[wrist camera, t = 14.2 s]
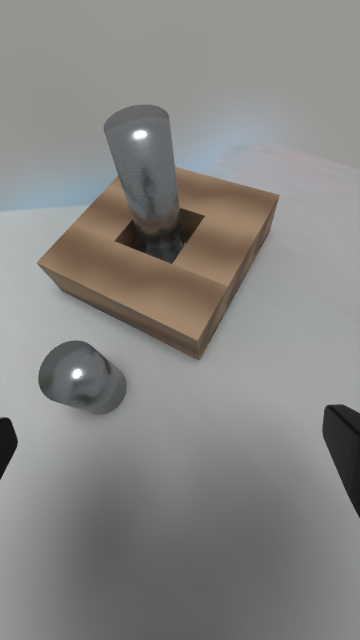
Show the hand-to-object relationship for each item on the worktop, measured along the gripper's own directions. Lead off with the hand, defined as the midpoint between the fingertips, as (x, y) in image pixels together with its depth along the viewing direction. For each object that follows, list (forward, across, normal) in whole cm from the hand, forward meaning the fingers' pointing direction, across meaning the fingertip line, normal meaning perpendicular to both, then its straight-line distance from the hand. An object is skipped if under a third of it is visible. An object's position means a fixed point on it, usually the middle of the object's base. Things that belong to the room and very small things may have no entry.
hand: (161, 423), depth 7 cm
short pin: (+12, +7, +7) cm, 16 cm away
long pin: (+22, +2, -2) cm, 22 cm away
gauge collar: (+22, +2, -2) cm, 22 cm away
